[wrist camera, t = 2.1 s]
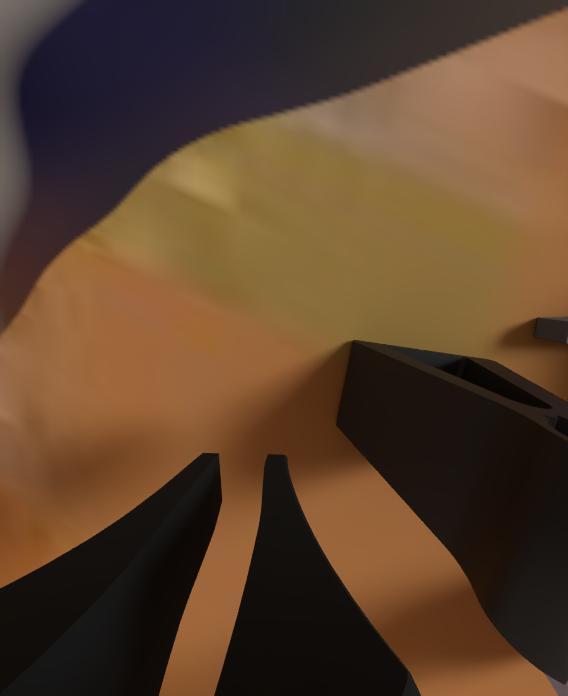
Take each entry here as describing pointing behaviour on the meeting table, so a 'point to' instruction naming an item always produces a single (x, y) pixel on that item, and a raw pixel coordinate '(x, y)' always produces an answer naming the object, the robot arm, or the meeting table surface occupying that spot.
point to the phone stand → (475, 478)
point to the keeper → (552, 329)
